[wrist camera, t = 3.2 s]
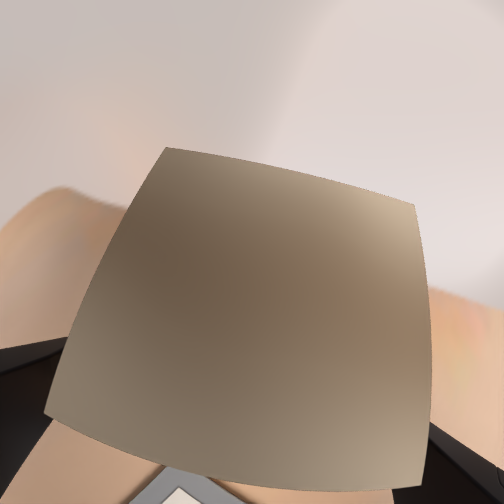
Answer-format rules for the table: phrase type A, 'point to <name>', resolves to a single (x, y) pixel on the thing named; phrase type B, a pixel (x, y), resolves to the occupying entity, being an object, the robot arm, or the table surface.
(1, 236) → the table surface
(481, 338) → the table surface
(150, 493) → the mat
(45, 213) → the table surface
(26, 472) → the table surface
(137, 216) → the beech post
